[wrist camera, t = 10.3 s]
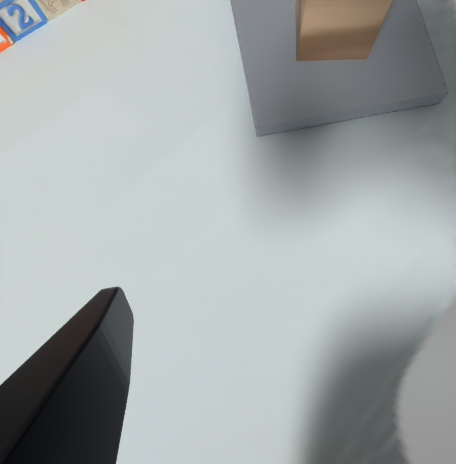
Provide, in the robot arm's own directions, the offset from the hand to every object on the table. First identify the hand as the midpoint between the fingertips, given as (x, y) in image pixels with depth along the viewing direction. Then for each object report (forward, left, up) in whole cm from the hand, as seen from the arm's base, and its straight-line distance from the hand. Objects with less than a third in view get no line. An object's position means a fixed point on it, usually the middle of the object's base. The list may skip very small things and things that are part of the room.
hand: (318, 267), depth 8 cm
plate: (+17, -7, -14) cm, 22 cm away
